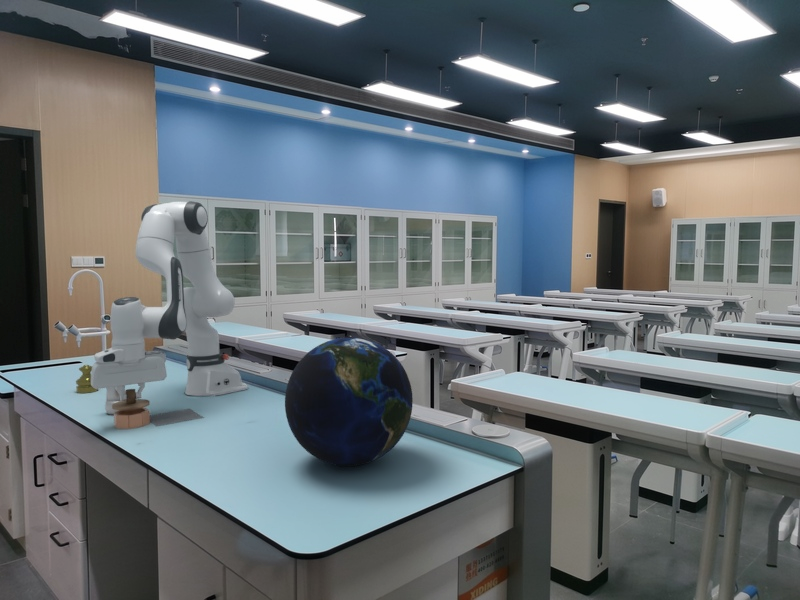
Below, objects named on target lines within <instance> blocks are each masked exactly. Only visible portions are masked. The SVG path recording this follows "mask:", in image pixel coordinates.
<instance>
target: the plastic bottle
mask: <svg viewBox="0 0 800 600" xmlns="http://www.w3.org/2000/svg"><path fill="white" fill-rule="evenodd" d="M105 391H106V396H105V405H104V409H105V412H106V413H107V415H110V416H114V412H117V411H119V410H114V409H112V405H113V404H114V403H116V402H120V401H121V400H120V394H119V393H118V392H117V390H116V389H115V387H108V388H105ZM121 392H122V393H123V394H126V385H123V386H122V389H121Z"/></svg>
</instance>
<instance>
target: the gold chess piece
mask: <svg viewBox="0 0 800 600" xmlns="http://www.w3.org/2000/svg"><path fill="white" fill-rule="evenodd" d="M92 366H93V365H89V364H84V365H82V366H80V367H79V368H78V370H79V371H80V372H81V373H82V375H81V376H79V378H77V379H76V380H75V384H76V393H78V394H90V393H94V392H97V391H98V390H99V389H95V388H93V387H92V386H91V371H92Z"/></svg>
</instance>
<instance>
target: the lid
mask: <svg viewBox="0 0 800 600" xmlns="http://www.w3.org/2000/svg"><path fill="white" fill-rule="evenodd" d="M125 392H126V394H127V397H126V398H127V400H125V401H120V402H116V403H114V404H113V405H112V409H114V410H134V409H139V408H147V407H149V406H150V400H149V399H146V398H145V399H142V398H138V399H136V393H135V392H136V388H128V389H125Z"/></svg>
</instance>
